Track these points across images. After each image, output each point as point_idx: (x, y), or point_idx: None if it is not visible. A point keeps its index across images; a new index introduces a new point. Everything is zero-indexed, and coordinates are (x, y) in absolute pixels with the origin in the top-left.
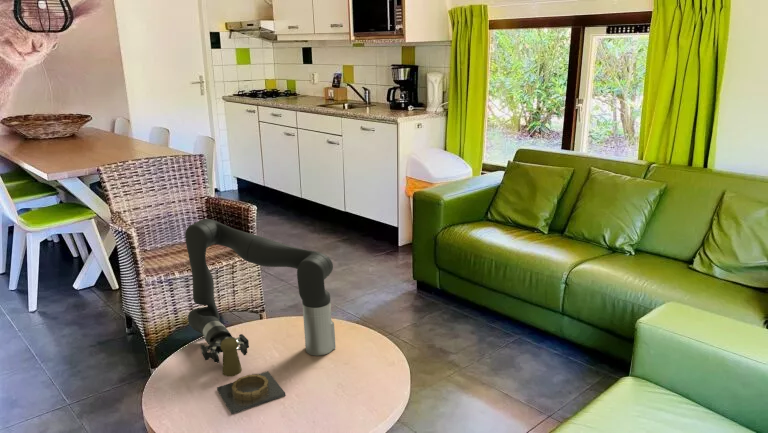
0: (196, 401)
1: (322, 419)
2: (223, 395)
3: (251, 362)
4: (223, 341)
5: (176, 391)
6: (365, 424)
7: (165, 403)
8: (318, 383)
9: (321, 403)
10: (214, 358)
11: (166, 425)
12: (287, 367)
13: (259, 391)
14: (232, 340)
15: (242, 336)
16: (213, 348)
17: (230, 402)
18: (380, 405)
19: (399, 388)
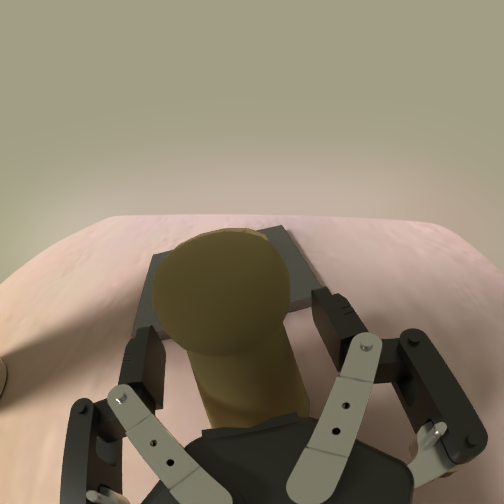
0: (381, 269)
1: (146, 222)
2: (300, 261)
3: None
4: (254, 246)
5: (466, 311)
6: (116, 217)
7: (463, 270)
8: (83, 281)
9: (122, 242)
10: (338, 294)
11: (416, 222)
12: (76, 354)
13: (204, 233)
14: (184, 246)
15: (72, 487)
16: (363, 379)
17: (282, 241)
18: (78, 236)
19: (38, 255)
